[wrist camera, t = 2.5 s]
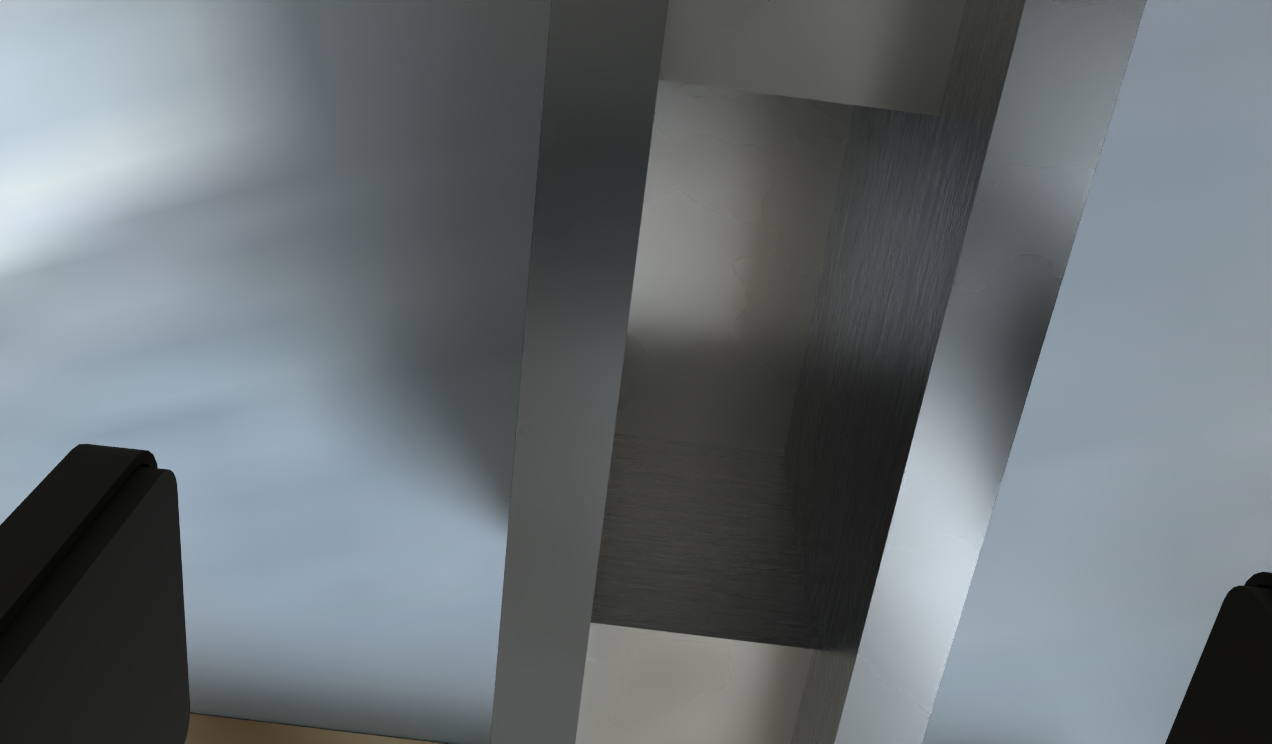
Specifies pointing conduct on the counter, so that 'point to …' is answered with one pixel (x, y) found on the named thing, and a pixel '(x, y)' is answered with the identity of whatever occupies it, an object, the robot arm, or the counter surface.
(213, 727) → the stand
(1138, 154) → the counter surface
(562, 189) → the housing
